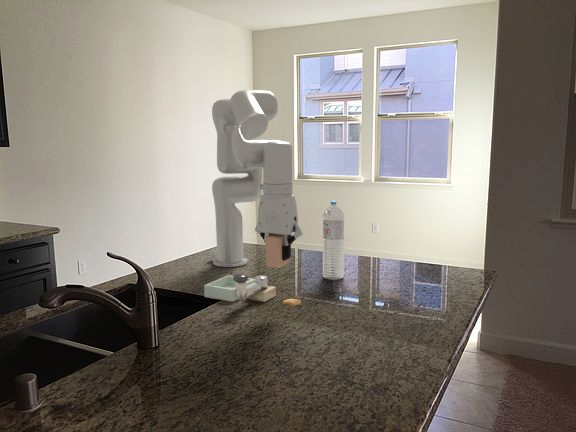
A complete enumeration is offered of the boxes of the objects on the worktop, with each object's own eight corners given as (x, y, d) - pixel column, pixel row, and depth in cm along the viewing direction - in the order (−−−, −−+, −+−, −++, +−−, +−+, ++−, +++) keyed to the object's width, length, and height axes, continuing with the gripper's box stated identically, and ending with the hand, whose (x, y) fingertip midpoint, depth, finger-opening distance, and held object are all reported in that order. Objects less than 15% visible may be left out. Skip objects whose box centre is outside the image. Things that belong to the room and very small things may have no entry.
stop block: (266, 266, 129) (265, 236, 127) (277, 259, 134) (276, 231, 132) (279, 268, 127) (278, 238, 125) (290, 261, 132) (289, 232, 131)
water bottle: (344, 280, 157) (345, 202, 153) (323, 280, 157) (323, 202, 153) (342, 274, 163) (343, 199, 159) (322, 274, 164) (322, 200, 160)
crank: (258, 284, 143) (258, 264, 142) (270, 286, 141) (270, 266, 140) (230, 298, 131) (230, 276, 130) (243, 300, 129) (242, 278, 128)
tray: (204, 296, 142) (204, 285, 141) (229, 285, 152) (228, 274, 152) (232, 302, 137) (232, 290, 137) (256, 290, 147) (255, 279, 147)
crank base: (246, 299, 140) (246, 289, 139) (258, 293, 145) (258, 284, 144) (294, 307, 132) (294, 297, 132) (305, 301, 137) (305, 291, 137)
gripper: (243, 189, 128) (244, 257, 131) (299, 193, 120) (299, 266, 123) (258, 186, 134) (259, 251, 138) (313, 190, 126) (312, 259, 130)
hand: (278, 257), depth 130 cm, fingers closed on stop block, 4 cm apart
